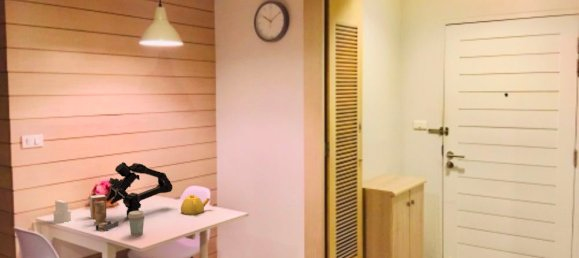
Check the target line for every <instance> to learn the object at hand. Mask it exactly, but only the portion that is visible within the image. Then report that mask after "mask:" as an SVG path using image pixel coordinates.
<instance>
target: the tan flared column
mask: <svg viewBox="0 0 579 258" xmlns="http://www.w3.org/2000/svg"><path fill="white" fill-rule="evenodd" d="M95 216H96V219H95V222H96V223H97V224H101V223H104V222H106V218H107V216H106V217H105V202H104V201H99V202H95Z"/></svg>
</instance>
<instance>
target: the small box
mask: <svg viewBox="0 0 579 258" xmlns="http://www.w3.org/2000/svg"><path fill="white" fill-rule="evenodd" d="M106 199H107V196H106V195H105V194H97V195H90V196H89V209H90V211H89V212H90V218H91V219H92V220H96V216H95V202H99V201H104V202H105V217H106V218H107V201H106Z"/></svg>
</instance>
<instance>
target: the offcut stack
mask: <svg viewBox="0 0 579 258" xmlns="http://www.w3.org/2000/svg"><path fill="white" fill-rule="evenodd" d="M104 226H107V223H101V224H99V227H98V230H97V231H101V232H104V231H103V227H104Z"/></svg>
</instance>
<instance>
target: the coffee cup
mask: <svg viewBox="0 0 579 258" xmlns="http://www.w3.org/2000/svg"><path fill="white" fill-rule="evenodd" d="M145 216H146V214H145V213H144V211H143V210H139V211H132V212H129V215H128V218H129V219H128V218H127V219H128V223H129V229H130V235H131V236H132V237H141V236H142V235H143V234H144V225H145V224H144V222H145Z"/></svg>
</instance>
